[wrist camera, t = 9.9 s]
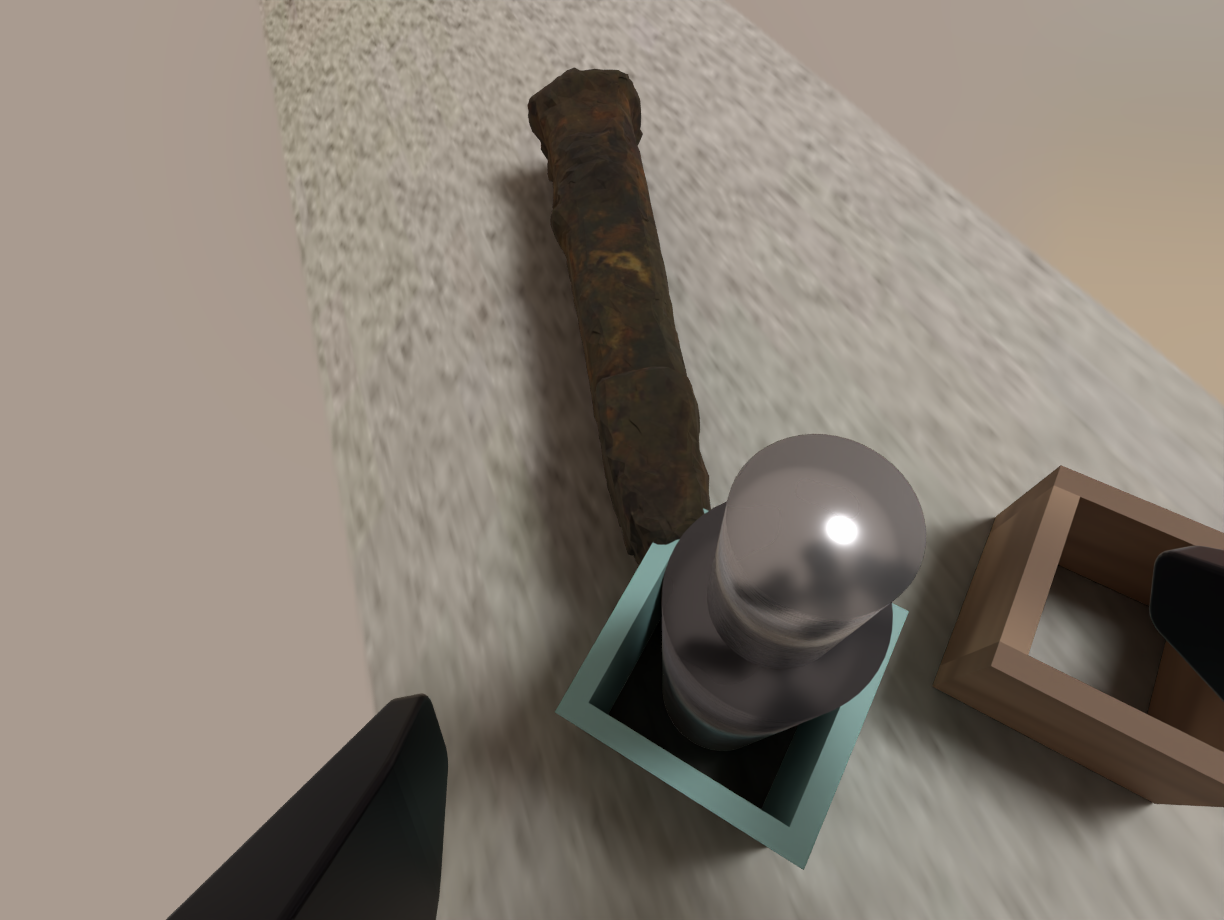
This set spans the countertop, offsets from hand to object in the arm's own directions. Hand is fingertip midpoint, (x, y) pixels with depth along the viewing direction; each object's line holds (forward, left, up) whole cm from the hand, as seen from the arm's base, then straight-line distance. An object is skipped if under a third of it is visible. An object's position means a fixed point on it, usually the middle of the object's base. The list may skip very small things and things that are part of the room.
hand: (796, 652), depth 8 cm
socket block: (+6, -7, -10) cm, 14 cm away
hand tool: (+9, +7, -10) cm, 16 cm away
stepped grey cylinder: (+1, 0, -10) cm, 10 cm away
